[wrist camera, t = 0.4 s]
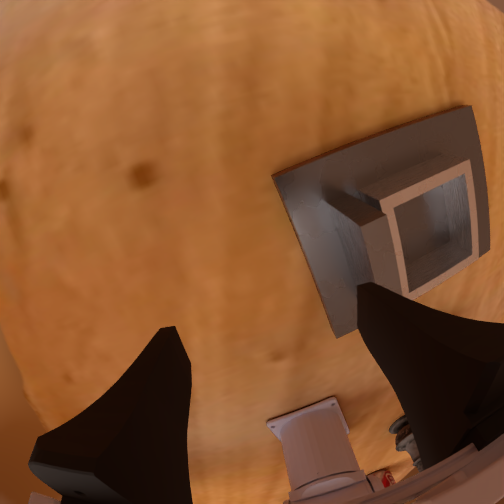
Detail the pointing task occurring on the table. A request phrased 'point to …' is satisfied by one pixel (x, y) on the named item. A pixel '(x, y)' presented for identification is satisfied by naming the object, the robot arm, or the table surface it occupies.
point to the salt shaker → (406, 440)
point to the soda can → (385, 477)
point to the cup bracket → (390, 210)
